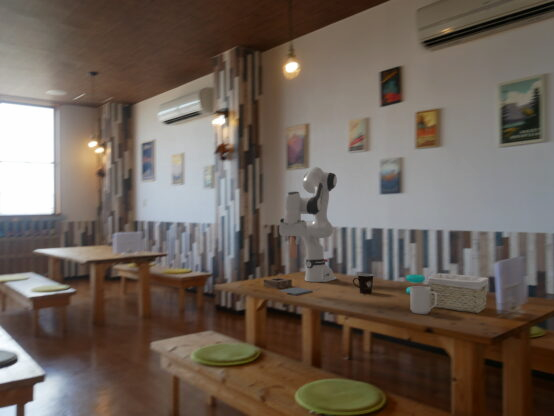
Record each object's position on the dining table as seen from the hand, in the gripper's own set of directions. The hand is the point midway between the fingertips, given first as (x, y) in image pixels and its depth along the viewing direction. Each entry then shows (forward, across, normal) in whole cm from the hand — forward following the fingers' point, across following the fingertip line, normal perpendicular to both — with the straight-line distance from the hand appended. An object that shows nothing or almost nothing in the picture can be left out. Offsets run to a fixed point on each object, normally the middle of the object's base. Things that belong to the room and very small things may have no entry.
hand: (293, 244), depth 257 cm
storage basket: (+28, -84, -28) cm, 92 cm away
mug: (+28, -78, -8) cm, 83 cm away
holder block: (+27, +16, -2) cm, 32 cm away
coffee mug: (+28, -30, -25) cm, 48 cm away
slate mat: (+28, -1, 0) cm, 28 cm away
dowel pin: (+8, 0, 0) cm, 8 cm away
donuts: (+27, -51, -44) cm, 73 cm away
